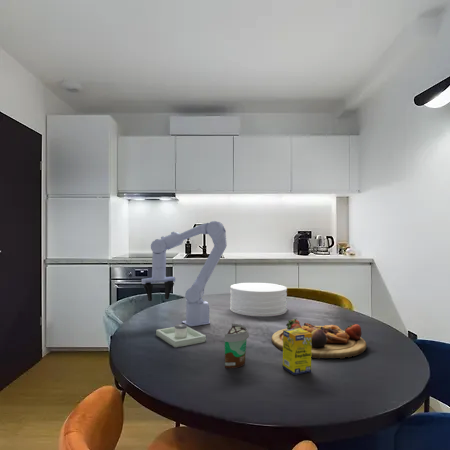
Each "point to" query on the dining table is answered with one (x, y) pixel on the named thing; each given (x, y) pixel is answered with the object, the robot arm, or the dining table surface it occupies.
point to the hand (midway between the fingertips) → (158, 299)
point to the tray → (191, 338)
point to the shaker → (180, 331)
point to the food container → (235, 346)
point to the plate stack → (258, 299)
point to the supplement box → (297, 351)
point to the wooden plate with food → (328, 340)
